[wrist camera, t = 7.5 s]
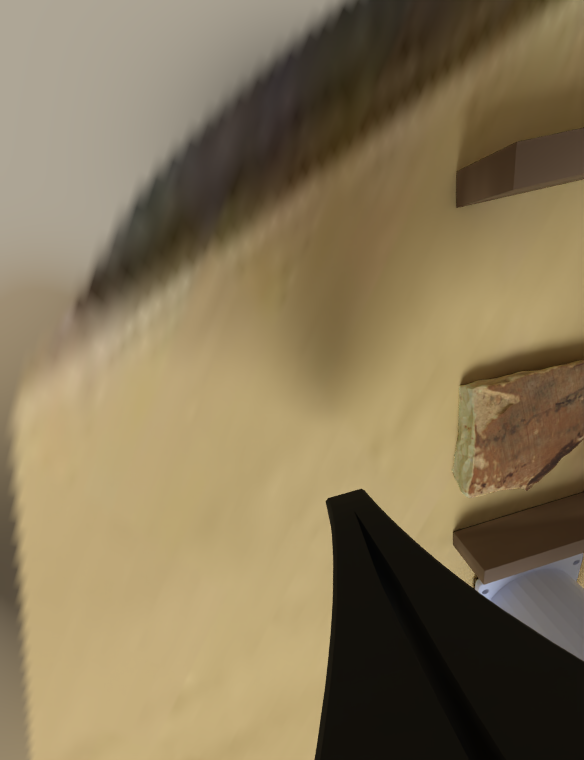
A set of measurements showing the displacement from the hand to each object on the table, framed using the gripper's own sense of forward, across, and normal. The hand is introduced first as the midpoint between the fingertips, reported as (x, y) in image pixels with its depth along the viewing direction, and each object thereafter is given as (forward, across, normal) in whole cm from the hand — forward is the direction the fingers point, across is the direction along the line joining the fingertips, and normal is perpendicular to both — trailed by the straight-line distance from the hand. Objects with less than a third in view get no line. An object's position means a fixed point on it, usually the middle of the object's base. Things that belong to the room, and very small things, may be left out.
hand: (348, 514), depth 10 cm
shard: (+5, -11, 0) cm, 12 cm away
